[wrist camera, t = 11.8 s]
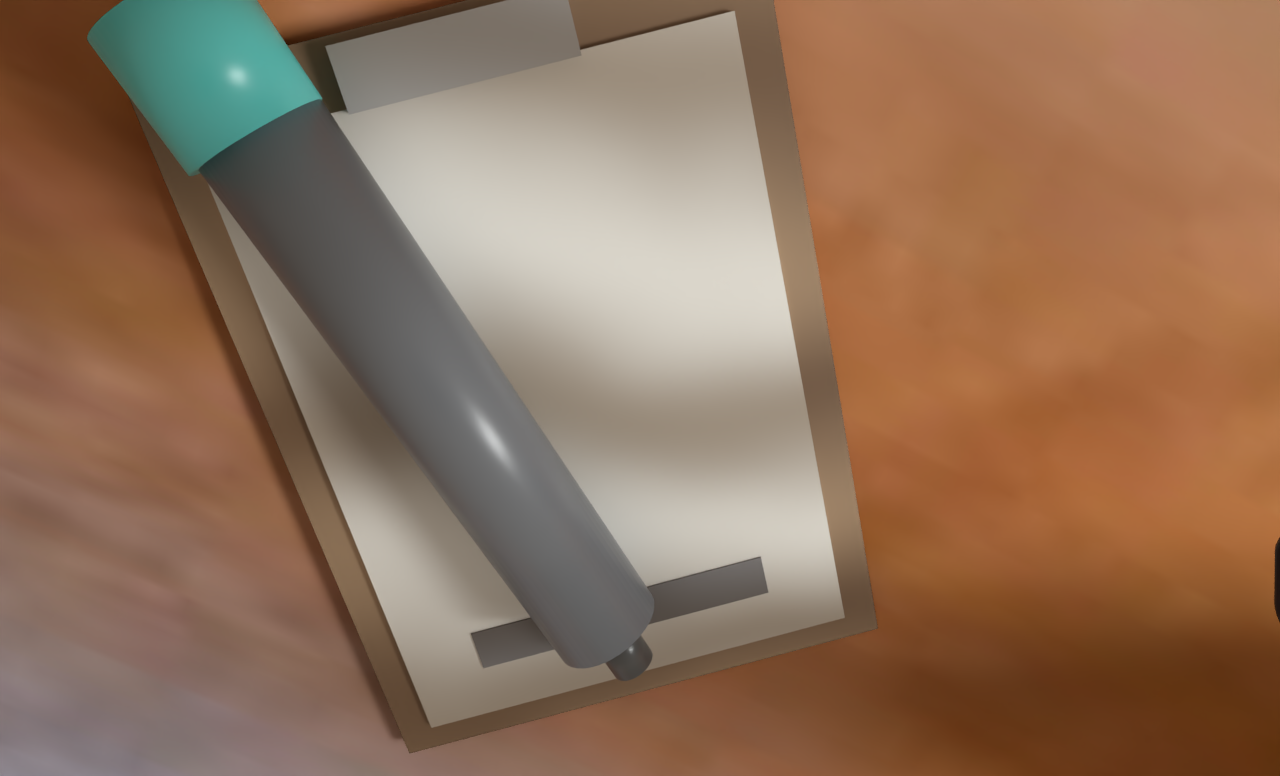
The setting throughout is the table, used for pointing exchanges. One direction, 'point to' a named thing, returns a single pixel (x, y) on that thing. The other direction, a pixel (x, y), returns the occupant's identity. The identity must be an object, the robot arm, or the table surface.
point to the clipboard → (574, 341)
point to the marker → (378, 308)
